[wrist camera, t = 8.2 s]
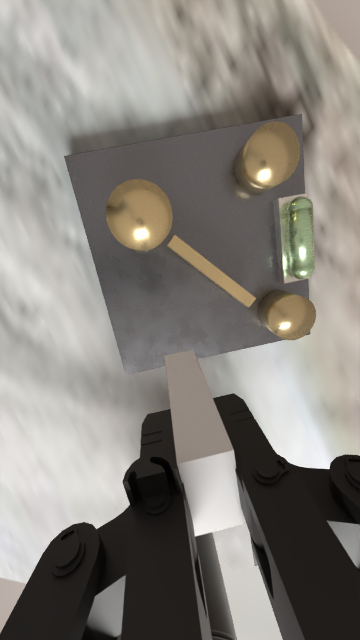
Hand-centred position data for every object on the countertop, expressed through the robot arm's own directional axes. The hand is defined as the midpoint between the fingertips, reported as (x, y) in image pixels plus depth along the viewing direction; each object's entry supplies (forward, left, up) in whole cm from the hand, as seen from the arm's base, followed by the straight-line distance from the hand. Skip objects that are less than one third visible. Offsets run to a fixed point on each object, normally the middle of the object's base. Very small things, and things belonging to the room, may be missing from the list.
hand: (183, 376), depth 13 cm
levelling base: (-5, +5, -19) cm, 20 cm away
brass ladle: (-6, +3, -16) cm, 18 cm away
